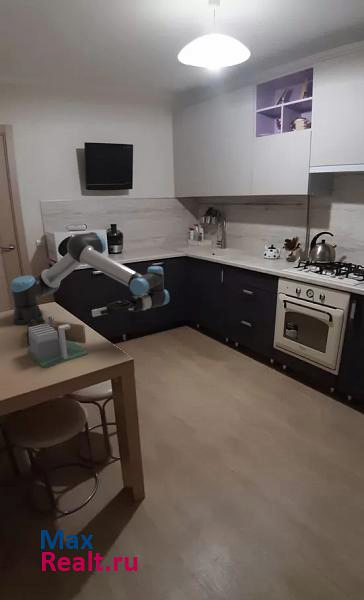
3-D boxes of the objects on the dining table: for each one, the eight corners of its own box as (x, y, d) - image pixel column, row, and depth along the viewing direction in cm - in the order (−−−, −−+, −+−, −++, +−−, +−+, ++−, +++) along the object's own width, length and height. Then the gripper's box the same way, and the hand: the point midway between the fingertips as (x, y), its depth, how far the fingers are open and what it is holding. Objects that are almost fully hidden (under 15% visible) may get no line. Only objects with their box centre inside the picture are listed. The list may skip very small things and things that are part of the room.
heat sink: (27, 351, 154) (23, 320, 150) (70, 340, 166) (66, 310, 161) (42, 367, 139) (37, 333, 135) (88, 354, 151) (85, 322, 146)
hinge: (50, 343, 158) (46, 318, 155) (53, 341, 160) (50, 316, 157) (84, 349, 152) (81, 323, 148) (87, 347, 154) (85, 321, 150)
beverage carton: (46, 329, 179) (44, 317, 177) (46, 344, 162) (45, 330, 160) (29, 332, 176) (27, 319, 175) (27, 347, 159) (25, 333, 157)
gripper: (147, 313, 163) (100, 325, 149) (132, 307, 173) (87, 318, 159) (146, 297, 161) (98, 308, 147) (131, 292, 171) (85, 301, 157)
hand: (92, 313), depth 153 cm, fingers closed
